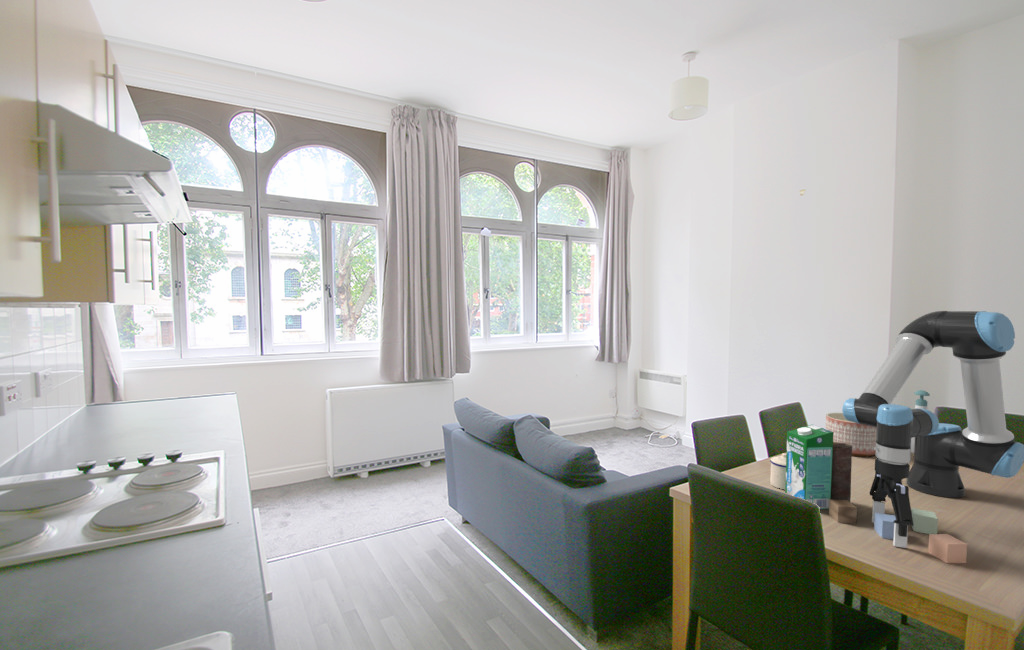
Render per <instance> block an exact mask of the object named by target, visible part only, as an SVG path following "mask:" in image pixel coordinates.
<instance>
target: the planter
mask: <svg viewBox="0 0 1024 650" xmlns="http://www.w3.org/2000/svg"><path fill="white" fill-rule="evenodd" d="M825 429H826V430H829V431H832V432H833V442H838V443H846V444H851V445H852V457H853V456H854V457H871V456H873V455H876V450H874V447H876V437H877V427H872V426H867V425H863V424H858V423H854V422H851V421H848V420H847V419H845V417H844V415H843V412H828V413H826V415H825Z"/></svg>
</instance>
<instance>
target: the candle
mask: <svg viewBox="0 0 1024 650" xmlns="http://www.w3.org/2000/svg"><path fill="white" fill-rule="evenodd" d="M852 457H853V455H852V445H851V444H846V443H838V442H833V457H832V482H831V499H834V500H848V501H849V502H850V503H851V498H852V497H851V494H852V492H851V491H852Z"/></svg>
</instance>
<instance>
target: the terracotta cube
mask: <svg viewBox="0 0 1024 650" xmlns="http://www.w3.org/2000/svg"><path fill="white" fill-rule="evenodd" d="M928 535H929V536H928V554H930V555H932V556H934V557H935V558H938V559H939V560H940V561H942V562H944V563H946V564H967V553H968V543H967V542H964V541H962V540H960V539H959V538H956V537H954V536H952V535H951V534H948V533H937V534H928Z"/></svg>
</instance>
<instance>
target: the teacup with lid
mask: <svg viewBox="0 0 1024 650" xmlns="http://www.w3.org/2000/svg"><path fill="white" fill-rule="evenodd" d="M786 455H787V452H785V453H781V455H778V456H773V457H771V458H770V460H769V462H770V477H769V478H770V482H769V483H770V485H771V486H773V488H776V489H779V488H780V489H779V490H782V489H784V490H783V491H785V484H786Z"/></svg>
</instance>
